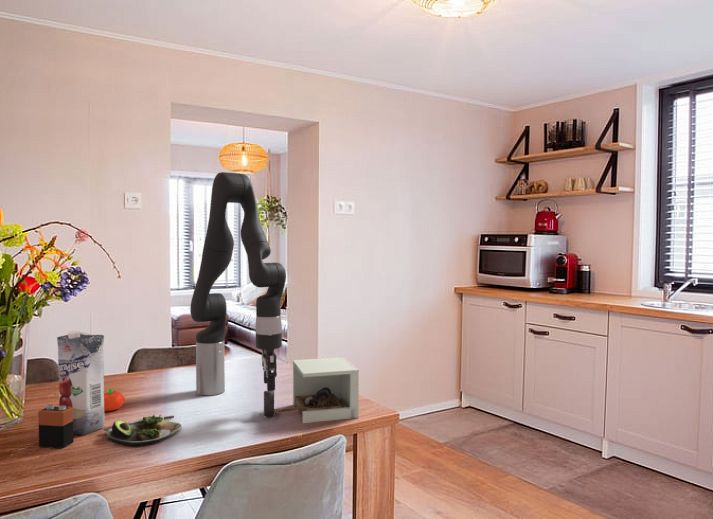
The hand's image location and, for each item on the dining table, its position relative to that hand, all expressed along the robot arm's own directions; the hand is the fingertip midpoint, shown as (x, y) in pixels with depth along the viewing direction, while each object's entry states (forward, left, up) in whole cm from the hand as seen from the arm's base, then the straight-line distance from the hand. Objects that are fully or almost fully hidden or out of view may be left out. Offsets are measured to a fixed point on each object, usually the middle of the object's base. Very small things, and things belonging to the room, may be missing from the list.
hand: (269, 386), depth 158 cm
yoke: (+10, 0, -9) cm, 13 cm away
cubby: (+16, 0, -9) cm, 18 cm away
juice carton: (-50, +2, -9) cm, 51 cm away
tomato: (-45, +19, -9) cm, 50 cm away
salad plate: (-34, -6, -9) cm, 36 cm away
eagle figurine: (+15, +2, -9) cm, 18 cm away
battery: (-54, -8, -9) cm, 55 cm away
